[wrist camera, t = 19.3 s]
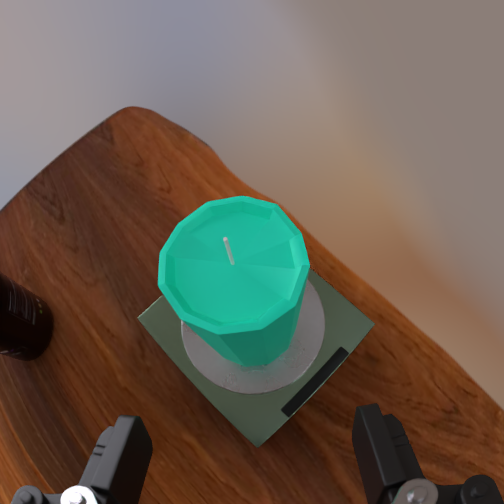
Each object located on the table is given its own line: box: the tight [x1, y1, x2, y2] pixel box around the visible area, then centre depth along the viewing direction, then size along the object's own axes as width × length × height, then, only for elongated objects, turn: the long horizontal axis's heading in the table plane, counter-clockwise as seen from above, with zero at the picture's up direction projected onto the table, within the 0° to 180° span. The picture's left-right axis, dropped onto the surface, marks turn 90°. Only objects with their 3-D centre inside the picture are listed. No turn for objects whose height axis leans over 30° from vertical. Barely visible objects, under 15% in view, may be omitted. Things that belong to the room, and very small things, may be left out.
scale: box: [138, 268, 375, 448], centre depth 23 cm, size 13×12×3 cm
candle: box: [158, 196, 310, 367], centre depth 16 cm, size 6×6×12 cm
